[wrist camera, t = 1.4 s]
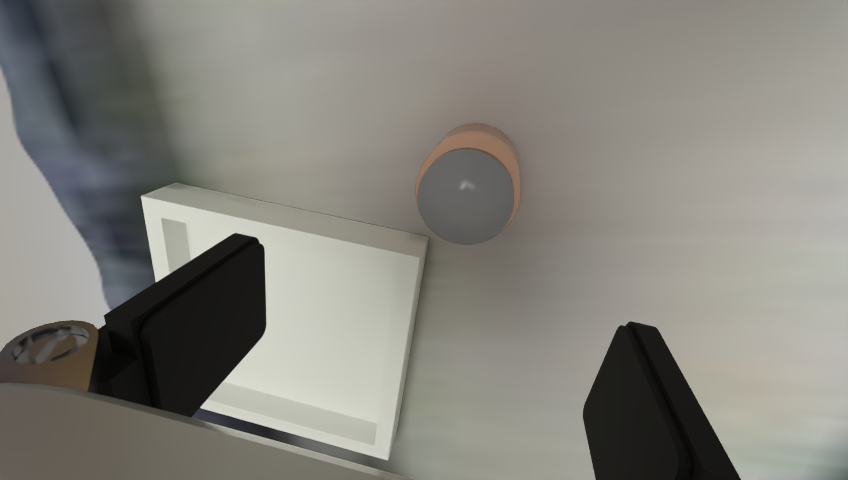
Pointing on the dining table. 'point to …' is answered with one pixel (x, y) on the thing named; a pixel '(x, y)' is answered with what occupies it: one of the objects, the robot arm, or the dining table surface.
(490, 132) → the shaker
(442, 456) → the dining table surface
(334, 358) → the tray
